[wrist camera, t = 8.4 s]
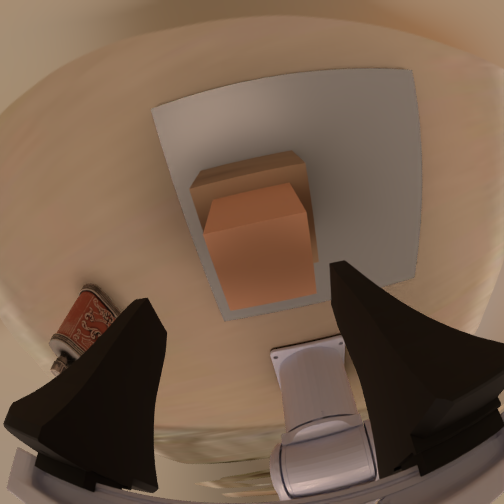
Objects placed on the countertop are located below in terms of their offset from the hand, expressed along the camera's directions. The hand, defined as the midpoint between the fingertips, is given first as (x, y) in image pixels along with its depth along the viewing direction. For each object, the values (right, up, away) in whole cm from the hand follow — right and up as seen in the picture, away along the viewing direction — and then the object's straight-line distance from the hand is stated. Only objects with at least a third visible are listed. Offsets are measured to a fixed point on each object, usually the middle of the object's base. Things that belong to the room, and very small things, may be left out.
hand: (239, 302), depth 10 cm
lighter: (-14, -4, +14) cm, 21 cm away
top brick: (+1, +3, +4) cm, 6 cm away
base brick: (+1, +5, +8) cm, 9 cm away
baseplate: (+5, +6, +9) cm, 12 cm away
